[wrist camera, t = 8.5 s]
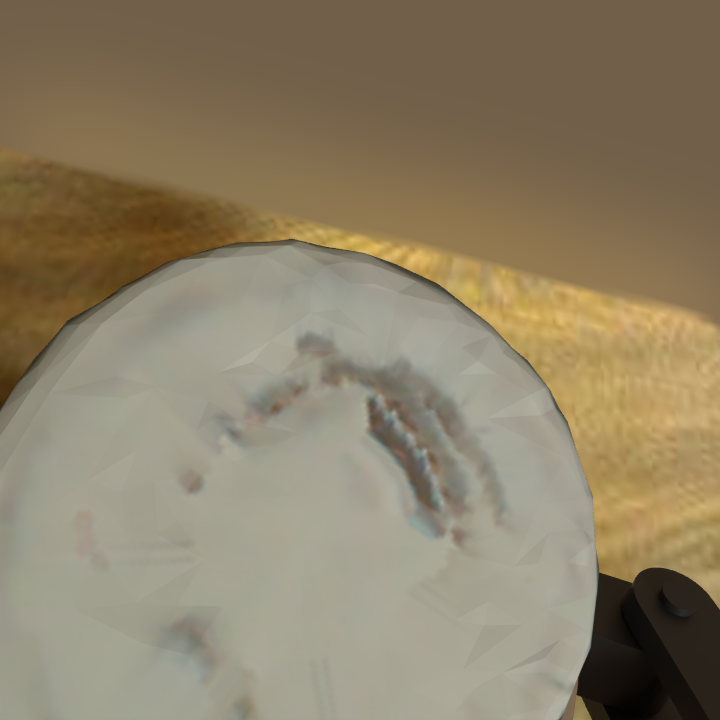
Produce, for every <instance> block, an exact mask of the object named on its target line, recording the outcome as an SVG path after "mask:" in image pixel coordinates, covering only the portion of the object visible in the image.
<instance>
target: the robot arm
mask: <svg viewBox="0 0 720 720" xmlns="http://www.w3.org/2000/svg"><path fill="white" fill-rule="evenodd" d="M576 695H578V696H581V697H582V699H583V701H584V703H585V706H586V708H587V710H588V712H589V714H590V716H591V718H592V720H720V610H719V608H718V607H717V605H716V604H715V603H714V601H713V600H712V598H711V597H710V596H709V595H708V593H707V592H706V591H705V590H704V589H703V588H702V587H700V586H699V585H698V584H697V583H696V582H694V581H693V580H691V579H690V578H688V577H686V576H684V575H682V574H680V573H678V572H676V571H673V570H669V569H665V568H648V569H646V570H643V571H642V572H640V573H639V574H638V575H637V577H636V578H635V580H634V582H633V583H630V582H627V581H624V580H621V579H618V578H615V577H611V576H608V575H605V574H602V573H599V578H598V587H597V596H596V605H595V614H594V622H593V631H592V640H591V648H590V650H589V652H588V655H587V657H586V659H585V662H584V664H583V666H582V669H581V671H580V673H579V676H578V678H577V681H576V683H575V686H574V688H573V691H572V694H571V696H570V699H569V701H568V704H567V707H566V709H565V712H564V714H563V717H562V719H561V720H573V715H574V708H575V701H576Z"/></svg>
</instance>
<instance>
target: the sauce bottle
mask: <svg viewBox="0 0 720 720" xmlns="http://www.w3.org/2000/svg"><path fill="white" fill-rule="evenodd" d="M598 578H599V564H598V558H597V552H596V545H595V530H594V512H593V496H592V493H591V491H590V488H589V485H588V482H587V479H586V477H585V474H584V471H583V468H582V466H581V463H580V460H579V457H578V453H577V450H576V447H575V444H574V441H573V438H572V434H571V431H570V428H569V425H568V422H567V420H566V418H565V417H564V415H563V414H562V412H561V411H560V409H559V407H558V405H557V403H556V401H555V399H554V397H553V395H552V393H551V391H550V389H549V388H548V386H547V385H546V384H545V382H544V381H543V380H542V379H541V377H540V376H539V375H538V373H537V372H536V371H535V370H534V368H533V367H532V366H531V364H530V363H529V362H528V361H527V360H526V359H525V358H524V357H522V356H521V355H520V354H519V353H518V352H516V351H515V350H514V349H513V348H512V347H511V346H510V345H509V344H508V343H507V342H506V341H505V340H504V339H503V338H502V337H501V336H500V334H499V333H498V332H497V331H496V330H495V329H494V328H493V327H492V326H491V325H490V324H489V323H488V322H486V321H485V320H484V319H482V318H481V317H480V316H479V315H477V314H476V313H475V312H473V311H472V310H471V309H469V308H468V307H467V306H465V305H464V304H463V303H462V302H460V301H459V300H458V299H457V298H455V297H454V296H453V295H451V294H450V293H449V292H448V291H446V290H445V289H444V288H443V287H441V286H440V285H439V284H437V283H435V282H433V281H431V280H428V279H426V278H424V277H422V276H420V275H418V274H416V273H413V272H411V271H409V270H407V269H405V268H403V267H400V266H398V265H396V264H393V263H391V262H388V261H385V260H382V259H380V258H377V257H374V256H371V255H368V254H366V253H361V252H355V251H348V250H342V249H336V248H330V247H324V246H319V245H315V244H311V243H307V242H303V241H299V240H295V239H288V240H281V241H274V242H246V243H234V244H230V245H226V246H222V247H218V248H215V249H211V250H207V251H204V252H201V253H198V254H195V255H192V256H188V257H185V258H181V259H177V260H174V261H170V262H167V263H165V264H163V265H161V266H160V267H158V268H156V269H155V270H153V271H151V272H149V273H148V274H146V275H144V276H142V277H140V278H138V279H136V280H134V281H132V282H130V283H128V284H126V285H125V286H123V287H121V288H120V289H118V290H117V291H116V292H114V293H113V294H111V295H110V296H109V297H107V298H106V299H105V300H103V301H102V302H100V303H98V304H97V305H95V306H93V307H91V308H89V309H88V310H86V311H84V312H82V313H80V314H79V315H77V316H75V317H73V318H71V319H70V320H68V321H67V322H66V323H65V324H64V326H63V327H62V328H61V329H60V331H59V332H58V333H57V334H56V335H55V337H54V338H53V339H52V340H51V341H50V342H49V344H48V345H47V346H46V347H45V348H44V349H43V350H42V351H41V352H40V353H39V355H38V356H37V357H36V358H35V359H34V360H33V362H32V363H31V365H30V366H29V367H28V369H27V370H26V372H25V373H24V374H23V376H22V377H21V379H20V380H19V382H18V383H17V384H16V386H15V387H14V389H13V390H12V392H11V393H10V395H9V396H8V398H7V399H6V401H5V402H4V404H3V405H2V407H1V408H0V720H561V719H562V717H563V714H564V712H565V709H566V707H567V704H568V701H569V699H570V696H571V694H572V691H573V688H574V686H575V683H576V681H577V678H578V676H579V673H580V671H581V669H582V666H583V664H584V662H585V659H586V657H587V655H588V652H589V650H590V648H591V640H592V631H593V622H594V614H595V605H596V596H597V587H598Z"/></svg>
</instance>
